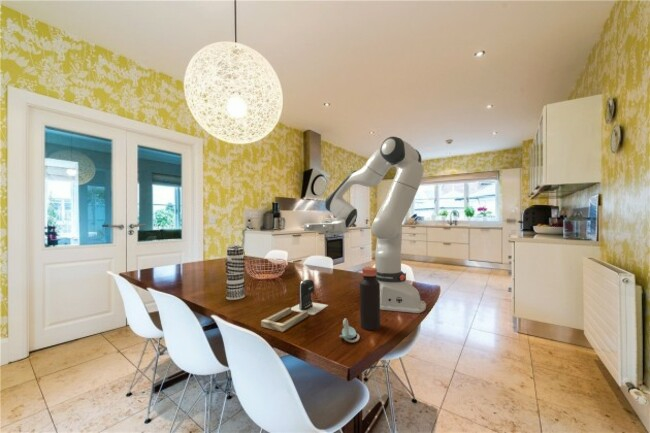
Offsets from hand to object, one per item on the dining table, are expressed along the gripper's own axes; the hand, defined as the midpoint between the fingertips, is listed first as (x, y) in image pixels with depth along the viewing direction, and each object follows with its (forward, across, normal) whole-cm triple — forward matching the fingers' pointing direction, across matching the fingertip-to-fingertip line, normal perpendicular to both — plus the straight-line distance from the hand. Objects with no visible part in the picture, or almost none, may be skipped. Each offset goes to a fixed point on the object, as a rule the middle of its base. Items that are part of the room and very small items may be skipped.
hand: (315, 227), depth 118 cm
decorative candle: (+12, -39, +33) cm, 52 cm away
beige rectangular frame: (+24, +1, +33) cm, 41 cm away
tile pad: (+9, +1, +34) cm, 35 cm away
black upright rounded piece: (+10, +1, +33) cm, 35 cm away
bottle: (+15, +30, +34) cm, 48 cm away
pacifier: (+27, +27, +34) cm, 51 cm away
